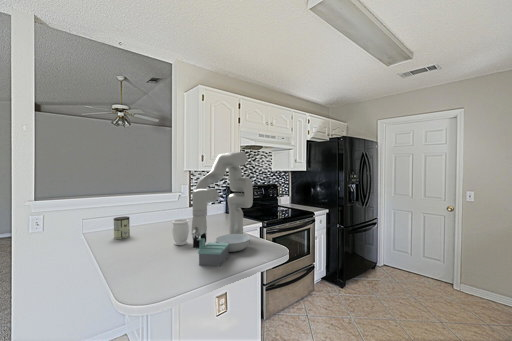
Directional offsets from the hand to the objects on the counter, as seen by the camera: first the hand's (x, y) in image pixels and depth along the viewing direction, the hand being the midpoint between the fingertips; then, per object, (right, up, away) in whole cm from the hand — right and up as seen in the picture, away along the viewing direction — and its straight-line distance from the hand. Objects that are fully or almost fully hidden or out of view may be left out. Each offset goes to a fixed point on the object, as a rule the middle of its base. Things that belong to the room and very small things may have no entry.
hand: (199, 245), depth 130 cm
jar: (-19, -8, +30) cm, 37 cm away
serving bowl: (+16, -8, +17) cm, 25 cm away
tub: (+8, -8, -1) cm, 11 cm away
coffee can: (-68, -9, +48) cm, 84 cm away
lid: (+6, -3, -1) cm, 7 cm away
